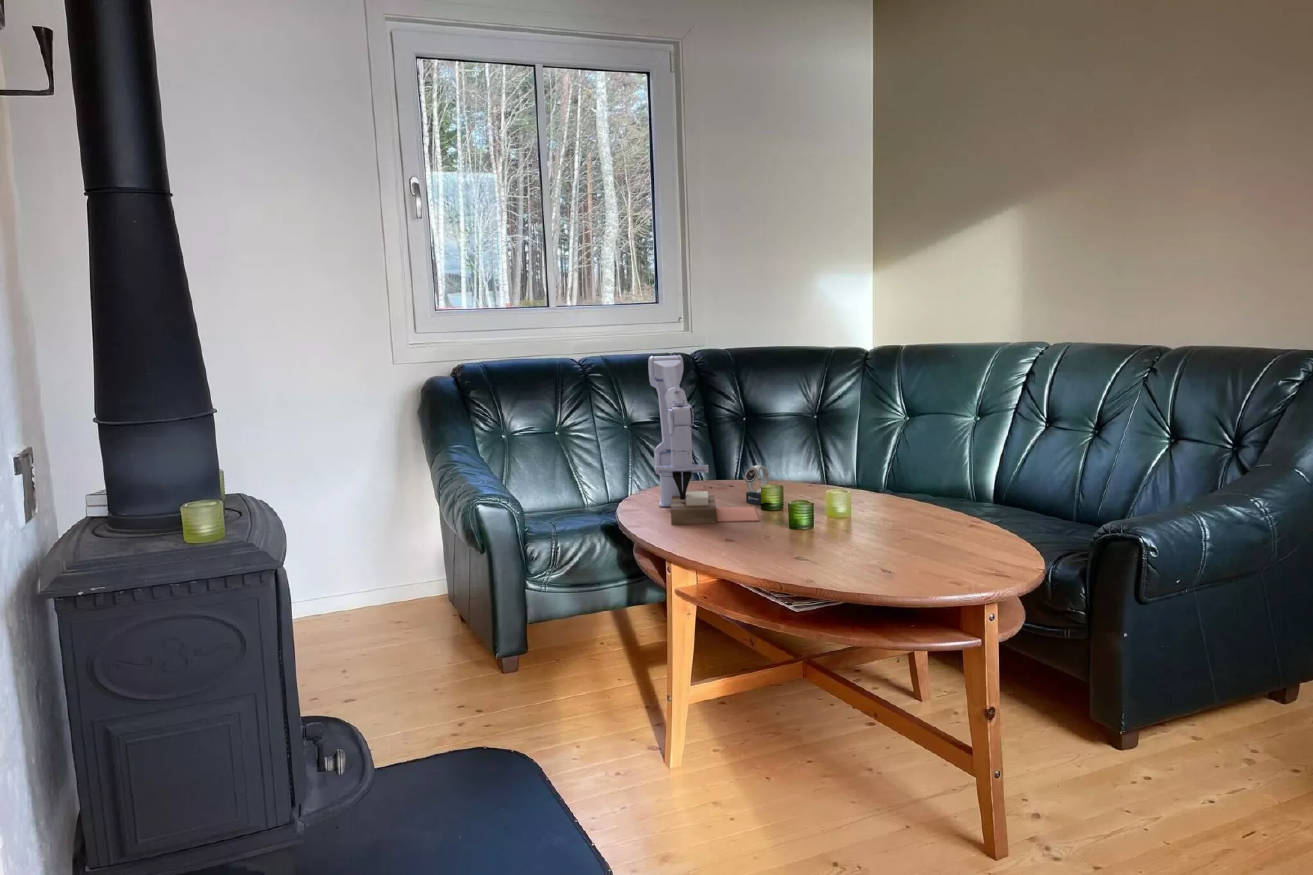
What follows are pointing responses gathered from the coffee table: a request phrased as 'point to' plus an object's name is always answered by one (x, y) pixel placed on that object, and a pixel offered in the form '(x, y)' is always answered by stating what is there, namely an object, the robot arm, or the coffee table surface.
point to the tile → (697, 498)
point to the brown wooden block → (692, 512)
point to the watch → (751, 479)
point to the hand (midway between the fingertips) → (682, 498)
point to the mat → (736, 514)
